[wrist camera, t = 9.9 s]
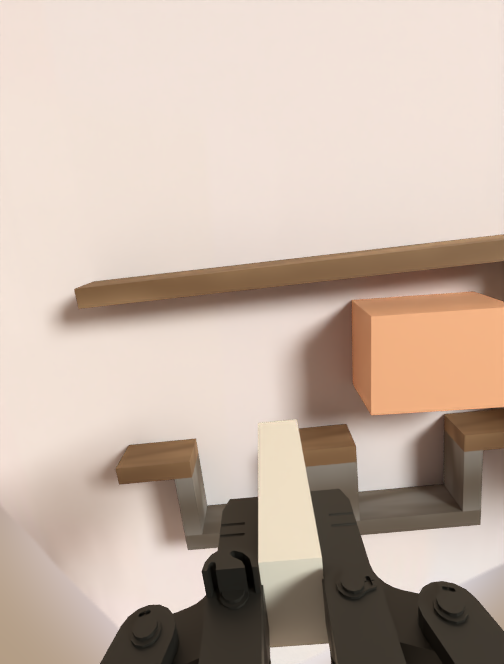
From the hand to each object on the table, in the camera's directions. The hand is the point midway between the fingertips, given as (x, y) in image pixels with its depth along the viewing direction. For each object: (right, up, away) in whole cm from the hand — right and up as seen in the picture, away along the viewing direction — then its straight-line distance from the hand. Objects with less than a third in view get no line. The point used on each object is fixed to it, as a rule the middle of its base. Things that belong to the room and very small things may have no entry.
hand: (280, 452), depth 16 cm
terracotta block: (+10, +4, +12) cm, 16 cm away
